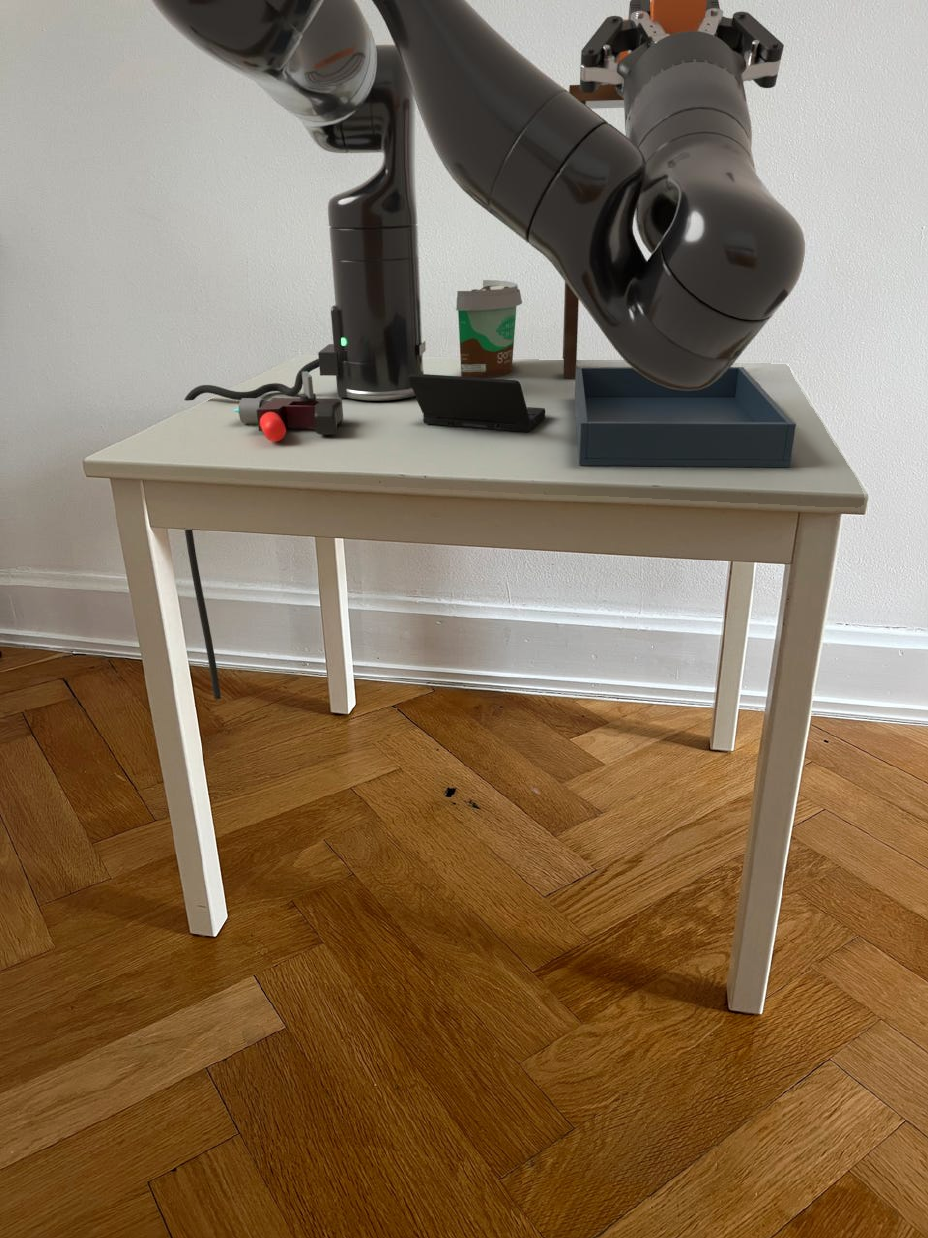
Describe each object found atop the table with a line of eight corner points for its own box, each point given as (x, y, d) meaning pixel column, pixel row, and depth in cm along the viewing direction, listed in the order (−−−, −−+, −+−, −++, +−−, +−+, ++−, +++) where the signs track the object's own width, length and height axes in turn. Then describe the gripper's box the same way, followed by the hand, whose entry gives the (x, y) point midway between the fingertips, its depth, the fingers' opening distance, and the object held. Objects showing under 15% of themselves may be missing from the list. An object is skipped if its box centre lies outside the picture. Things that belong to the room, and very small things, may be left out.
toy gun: (240, 418, 92) (234, 370, 90) (354, 420, 90) (350, 371, 88) (202, 444, 84) (194, 392, 81) (327, 447, 82) (322, 393, 80)
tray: (579, 465, 75) (580, 423, 74) (574, 401, 96) (575, 367, 94) (789, 467, 74) (796, 423, 72) (739, 401, 94) (743, 366, 93)
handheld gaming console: (547, 395, 91) (528, 324, 82) (545, 453, 88) (525, 386, 79) (438, 407, 94) (409, 340, 85) (432, 464, 91) (401, 401, 82)
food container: (508, 382, 105) (508, 292, 100) (457, 380, 107) (455, 291, 102) (531, 362, 116) (532, 279, 111) (484, 360, 117) (484, 279, 113)
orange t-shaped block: (689, 67, 81) (691, 28, 80) (729, 33, 62) (733, -19, 61) (610, 70, 82) (612, 31, 80) (626, 37, 63) (628, -15, 61)
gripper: (818, 59, 53) (782, -61, 62) (575, 67, 54) (576, -52, 64) (787, 182, 59) (759, 55, 68) (570, 186, 60) (572, 61, 70)
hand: (671, 4), depth 66 cm, fingers closed on orange t-shaped block, 3 cm apart
